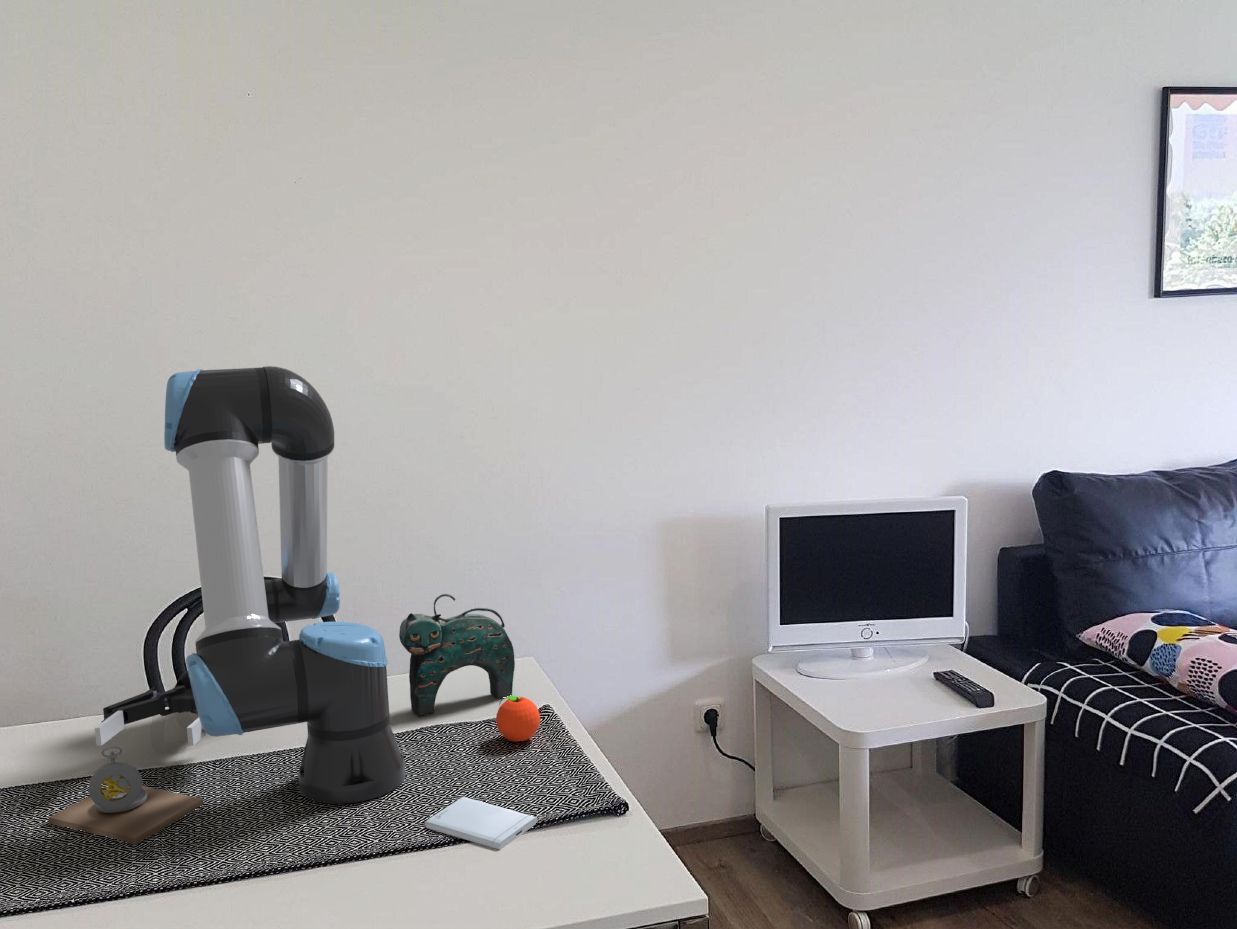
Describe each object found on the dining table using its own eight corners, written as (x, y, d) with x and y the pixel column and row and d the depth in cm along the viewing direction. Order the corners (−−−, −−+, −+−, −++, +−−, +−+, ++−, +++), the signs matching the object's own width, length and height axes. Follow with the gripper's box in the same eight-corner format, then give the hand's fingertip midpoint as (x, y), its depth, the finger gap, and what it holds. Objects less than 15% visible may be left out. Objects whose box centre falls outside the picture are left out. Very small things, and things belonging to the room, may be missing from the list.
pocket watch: (133, 789, 160) (126, 723, 158) (163, 805, 154) (156, 737, 153) (75, 811, 154) (68, 742, 152) (105, 828, 148) (97, 757, 147)
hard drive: (425, 820, 148) (500, 841, 142) (464, 795, 155) (537, 814, 148) (425, 832, 148) (500, 854, 142) (465, 806, 155) (537, 826, 149)
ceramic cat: (410, 722, 185) (403, 605, 182) (398, 709, 190) (391, 596, 187) (520, 698, 194) (515, 586, 191) (505, 687, 200) (500, 578, 197)
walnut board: (203, 805, 156) (202, 798, 156) (135, 845, 146) (134, 838, 145) (120, 787, 163) (119, 781, 163) (49, 824, 152) (48, 817, 152)
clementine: (483, 739, 177) (481, 697, 175) (515, 726, 182) (513, 684, 180) (517, 752, 171) (515, 708, 170) (550, 738, 176) (548, 695, 175)
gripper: (284, 706, 180) (230, 761, 159) (135, 706, 182) (62, 761, 161) (281, 661, 179) (226, 711, 158) (131, 662, 181) (57, 711, 160)
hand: (143, 736), depth 159 cm, fingers open, 13 cm apart
